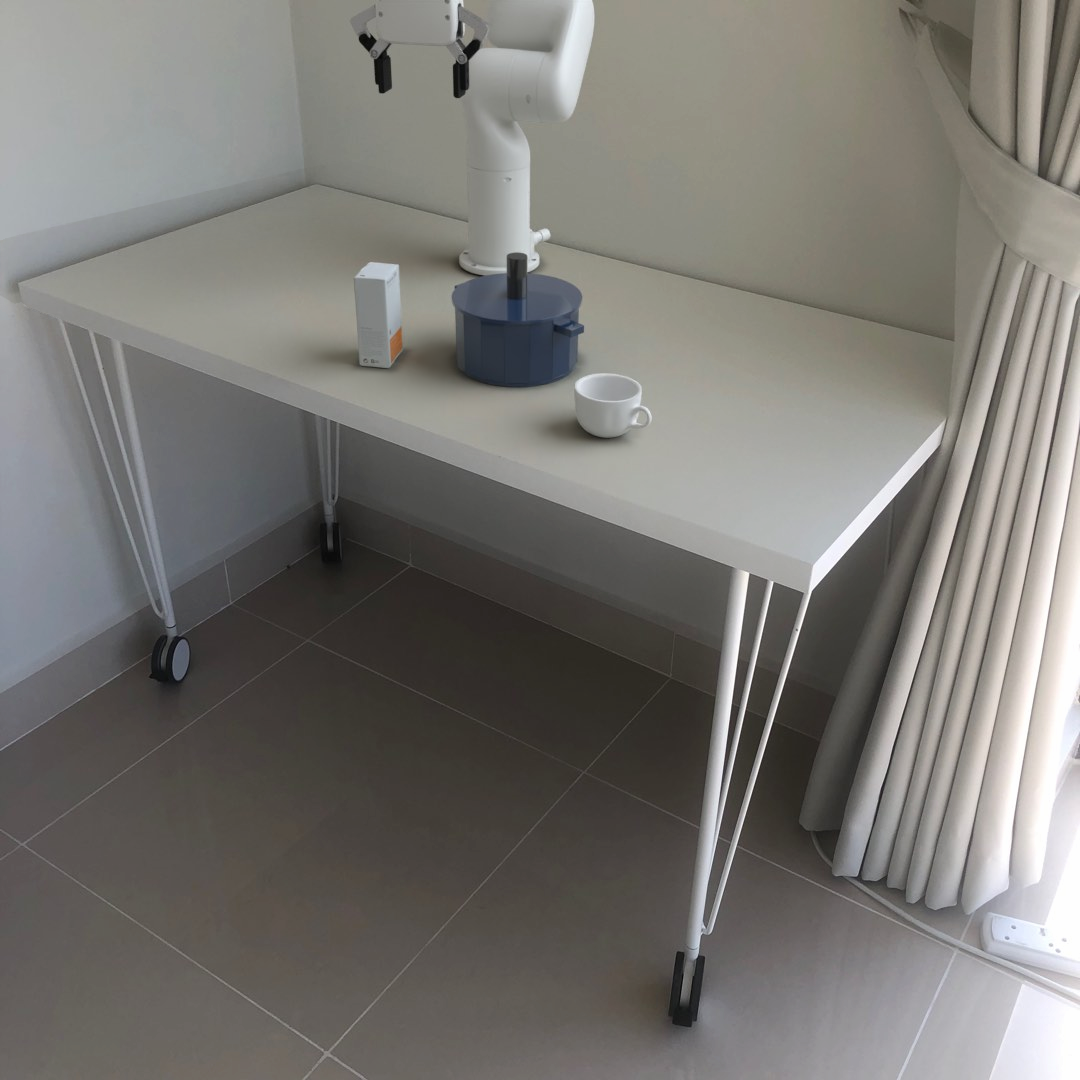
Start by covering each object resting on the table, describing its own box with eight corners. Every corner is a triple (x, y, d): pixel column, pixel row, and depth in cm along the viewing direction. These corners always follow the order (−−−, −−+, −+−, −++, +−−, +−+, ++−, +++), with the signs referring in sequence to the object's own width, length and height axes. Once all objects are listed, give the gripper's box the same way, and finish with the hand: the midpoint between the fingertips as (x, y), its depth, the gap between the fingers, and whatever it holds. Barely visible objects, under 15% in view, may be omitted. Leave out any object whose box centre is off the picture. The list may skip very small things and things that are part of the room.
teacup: (559, 430, 136) (560, 388, 133) (598, 408, 141) (600, 367, 138) (629, 457, 131) (632, 414, 128) (667, 433, 136) (671, 391, 133)
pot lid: (517, 271, 158) (517, 225, 155) (609, 304, 148) (611, 256, 145) (424, 303, 148) (422, 255, 145) (516, 340, 138) (516, 290, 135)
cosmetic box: (390, 369, 150) (385, 280, 143) (359, 366, 151) (351, 277, 144) (404, 350, 155) (399, 263, 148) (373, 347, 156) (367, 260, 149)
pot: (503, 322, 163) (503, 264, 159) (616, 367, 151) (619, 305, 147) (419, 354, 154) (415, 293, 149) (532, 405, 142) (533, 340, 137)
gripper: (496, -61, 138) (497, 91, 147) (357, -66, 141) (366, 83, 150) (479, -55, 131) (481, 104, 140) (334, -60, 134) (345, 95, 144)
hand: (422, 93), depth 145 cm, fingers open, 9 cm apart
